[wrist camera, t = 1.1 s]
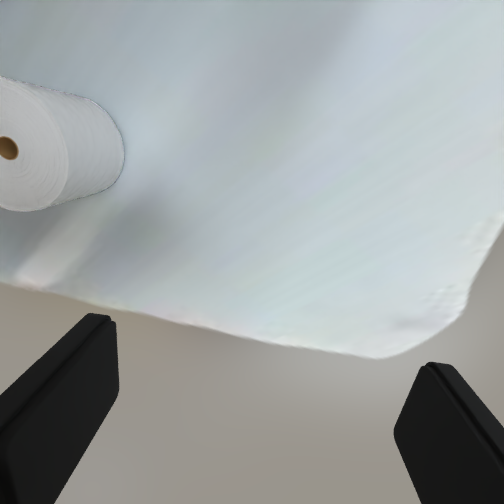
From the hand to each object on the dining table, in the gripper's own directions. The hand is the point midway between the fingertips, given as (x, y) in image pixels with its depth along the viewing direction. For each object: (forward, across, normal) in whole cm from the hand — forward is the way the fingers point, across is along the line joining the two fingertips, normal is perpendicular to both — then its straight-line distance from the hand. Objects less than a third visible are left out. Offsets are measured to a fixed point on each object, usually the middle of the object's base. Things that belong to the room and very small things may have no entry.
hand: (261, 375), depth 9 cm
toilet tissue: (+27, +23, -3) cm, 36 cm away
